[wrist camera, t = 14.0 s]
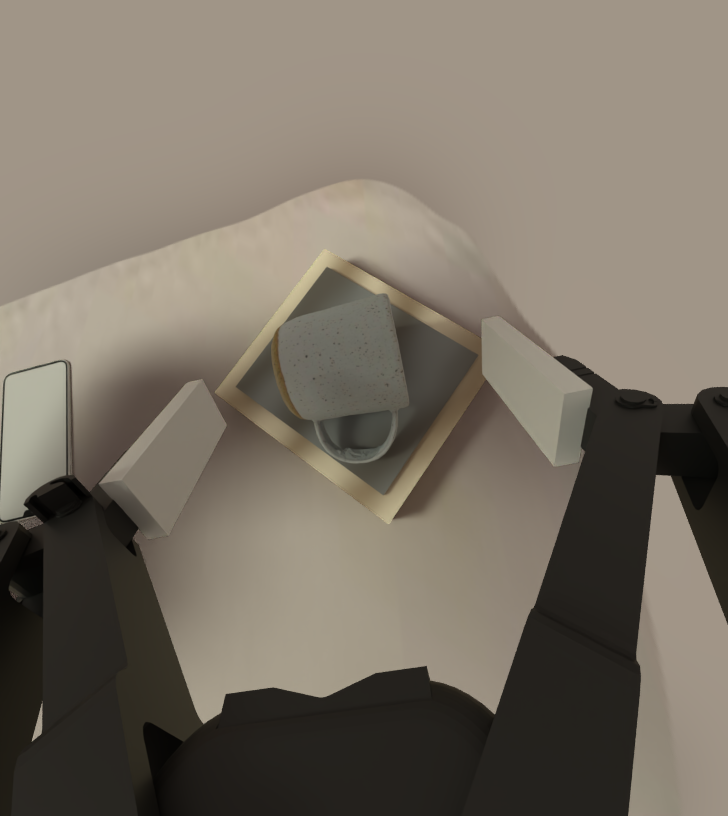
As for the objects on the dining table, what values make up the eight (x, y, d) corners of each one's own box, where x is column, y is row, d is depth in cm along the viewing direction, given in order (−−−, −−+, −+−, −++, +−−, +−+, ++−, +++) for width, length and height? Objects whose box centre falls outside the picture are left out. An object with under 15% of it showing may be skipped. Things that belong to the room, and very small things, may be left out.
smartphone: (68, 357, 33) (69, 508, 30) (74, 359, 34) (76, 508, 31) (2, 374, 34) (-4, 525, 30) (10, 376, 35) (4, 524, 31)
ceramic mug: (295, 345, 28) (255, 299, 20) (392, 323, 27) (387, 267, 19) (315, 473, 25) (279, 474, 18) (420, 452, 25) (428, 445, 17)
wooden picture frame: (229, 399, 31) (211, 391, 28) (330, 265, 32) (323, 245, 29) (390, 520, 27) (388, 525, 24) (496, 362, 28) (506, 349, 26)
